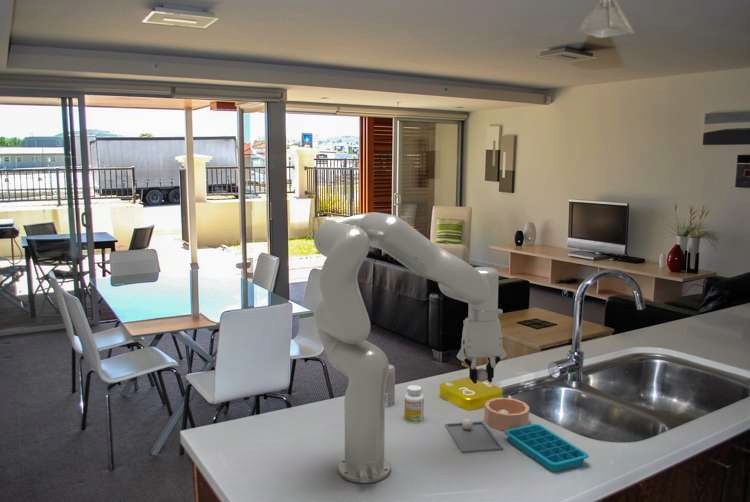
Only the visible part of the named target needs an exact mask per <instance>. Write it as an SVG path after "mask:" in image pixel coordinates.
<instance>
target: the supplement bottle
mask: <svg viewBox="0 0 750 502" xmlns="http://www.w3.org/2000/svg"><path fill="white" fill-rule="evenodd" d="M406 389H407V390H406V391H407V392H406V393H405V395H404V421H406V422H408V423H415V424H416V423H420V422H421V423H422V421H423V420H424V399H425V398H424V395H423V394H422V387H421V386H420V385H419V384H418V385H417V384H412V385H411V384H410V385H409V386H407V388H406Z"/></svg>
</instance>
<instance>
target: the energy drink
mask: <svg viewBox="0 0 750 502" xmlns="http://www.w3.org/2000/svg"><path fill="white" fill-rule="evenodd" d="M395 392H396V368H395V366H394V364H391V363H389V371H388V376H387V381H386V387H385V408H386V407H387V408H388V407H392V406H394V405H395V402H396V396H395V395H396V393H395Z"/></svg>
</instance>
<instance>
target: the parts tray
mask: <svg viewBox="0 0 750 502" xmlns="http://www.w3.org/2000/svg"><path fill="white" fill-rule="evenodd" d="M472 422H473V426H472V428H471V429H469V430H466V429H464V428H463V427H462V422H449V423H444V427H445V428H446V431H447V432H448V433H449V435H450V437H451V438H452V440H453V441H454V444H455V445H456V446H457V449H459V451H460V453H461V454H471V453H472V454H473V453H483V452H496V451H498V452H500V451H504V447H503V445H502V444H501V443H500V441H499V440H498V439H497V437H496V436H495V435H494V434H493V433H492V431H491V430H490V429H489V426H488V425H487V424H486V422H485V421H472Z"/></svg>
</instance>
